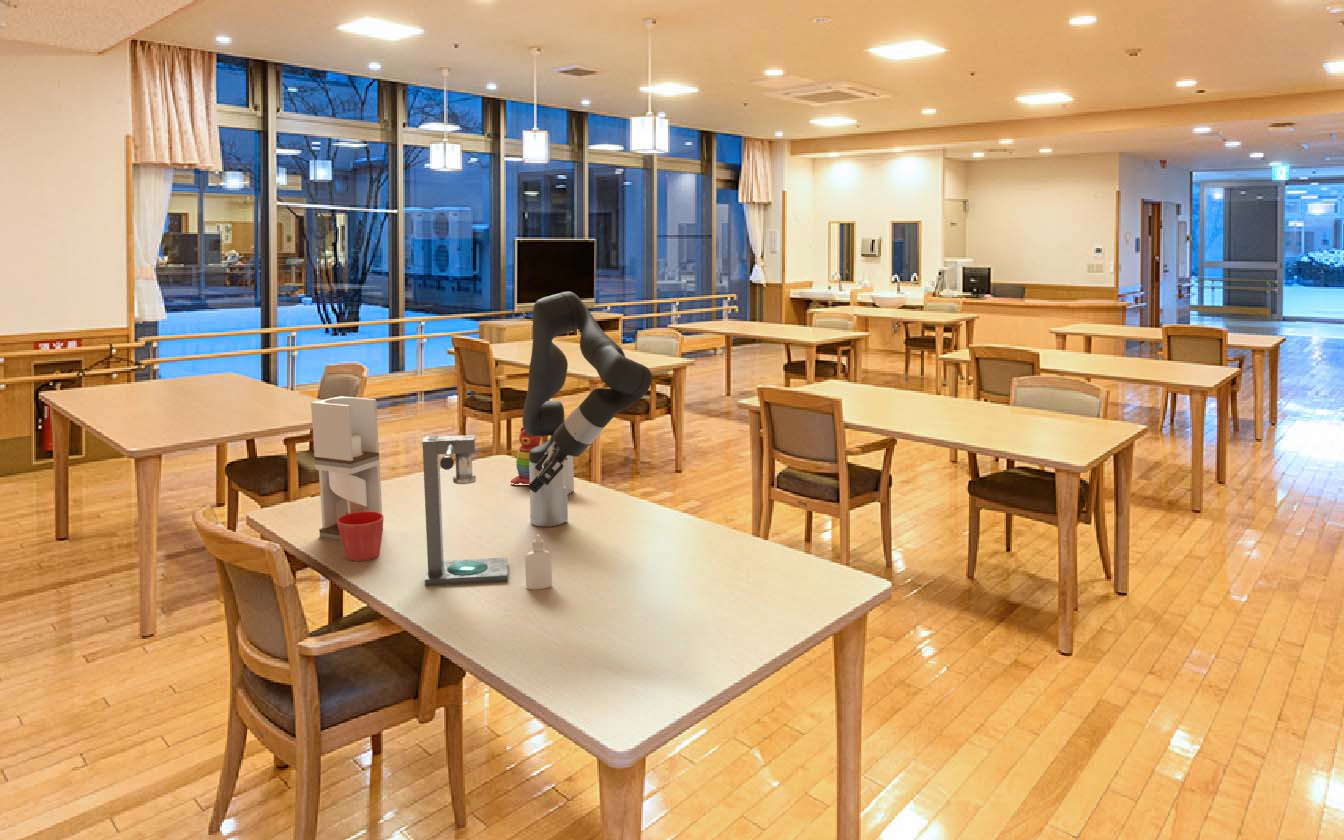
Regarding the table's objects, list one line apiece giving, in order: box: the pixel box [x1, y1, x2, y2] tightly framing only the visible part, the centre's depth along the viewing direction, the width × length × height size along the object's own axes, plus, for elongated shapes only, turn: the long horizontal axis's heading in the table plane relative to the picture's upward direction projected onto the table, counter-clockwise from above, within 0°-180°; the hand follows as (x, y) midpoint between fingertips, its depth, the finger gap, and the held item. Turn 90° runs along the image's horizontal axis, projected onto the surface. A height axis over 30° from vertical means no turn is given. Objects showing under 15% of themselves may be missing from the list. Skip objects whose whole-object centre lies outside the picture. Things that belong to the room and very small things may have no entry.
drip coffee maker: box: [310, 395, 384, 541], centre depth 241 cm, size 11×11×35 cm
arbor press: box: [421, 434, 509, 587], centre depth 207 cm, size 18×25×32 cm
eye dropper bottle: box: [524, 534, 553, 590], centre depth 207 cm, size 4×6×12 cm
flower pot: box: [337, 511, 384, 562], centre depth 227 cm, size 11×11×10 cm
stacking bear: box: [510, 426, 542, 484], centre depth 295 cm, size 11×10×18 cm
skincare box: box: [564, 456, 575, 495], centre depth 285 cm, size 6×4×12 cm
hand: (535, 479), depth 207 cm, fingers open, 8 cm apart
